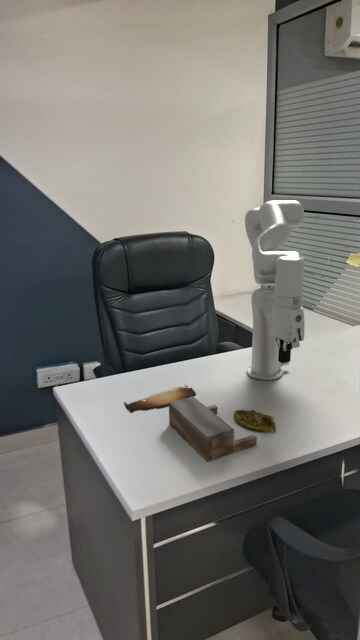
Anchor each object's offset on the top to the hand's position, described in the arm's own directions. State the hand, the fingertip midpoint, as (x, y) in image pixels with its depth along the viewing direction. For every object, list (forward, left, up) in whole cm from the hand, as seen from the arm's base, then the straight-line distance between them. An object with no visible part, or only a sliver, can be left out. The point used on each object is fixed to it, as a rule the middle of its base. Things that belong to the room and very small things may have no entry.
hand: (284, 361), depth 140 cm
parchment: (+27, -26, -18) cm, 41 cm away
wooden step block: (+25, 0, -17) cm, 30 cm away
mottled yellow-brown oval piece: (+10, 0, -18) cm, 20 cm away
